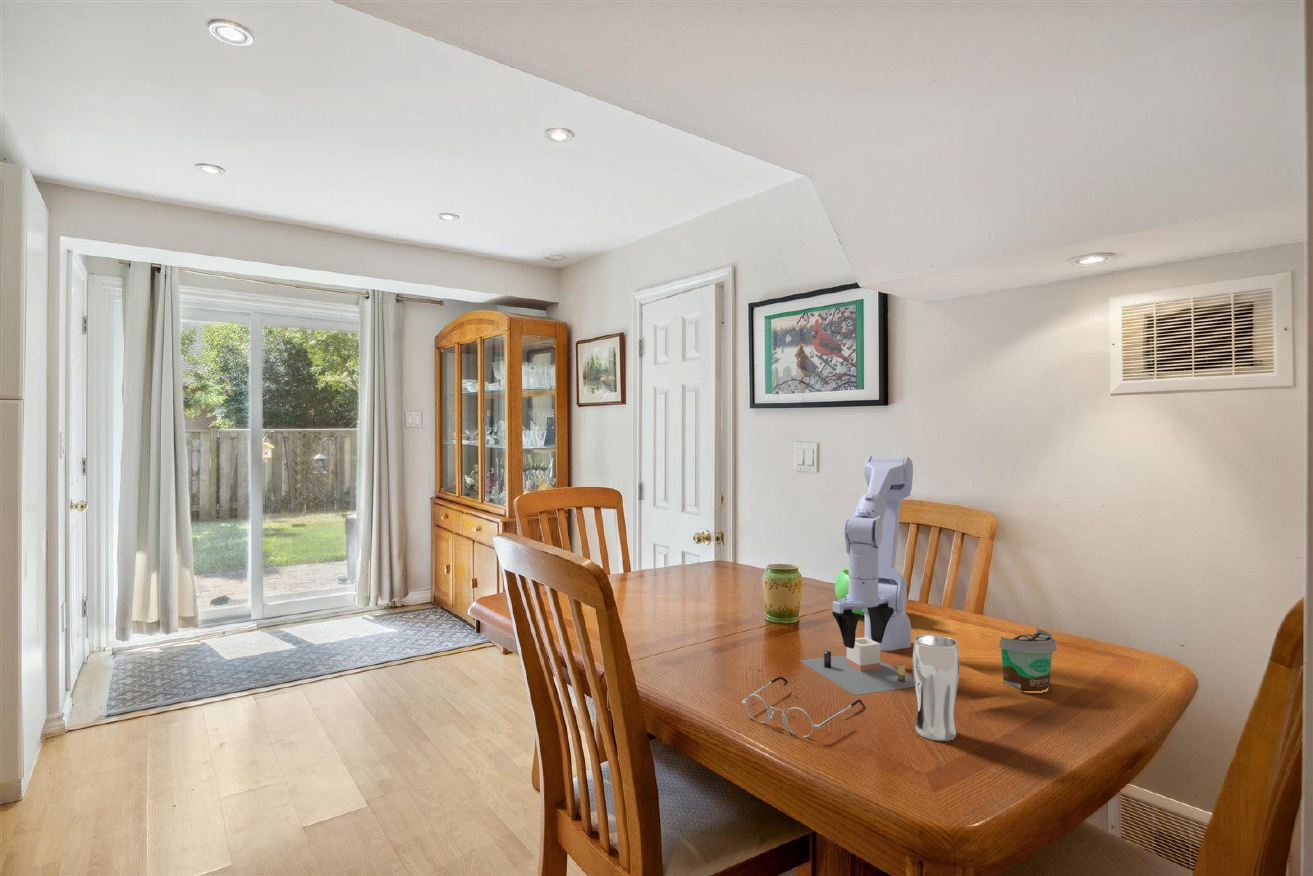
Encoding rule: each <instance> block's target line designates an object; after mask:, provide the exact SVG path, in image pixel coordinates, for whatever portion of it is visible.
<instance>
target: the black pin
mask: <svg viewBox="0 0 1313 876" xmlns="http://www.w3.org/2000/svg"><path fill="white" fill-rule="evenodd" d="M831 657H832V652H831V650H823V658H824V667H825V668H831Z"/></svg>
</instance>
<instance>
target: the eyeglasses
mask: <svg viewBox="0 0 1313 876" xmlns="http://www.w3.org/2000/svg"><path fill="white" fill-rule="evenodd" d="M779 680H782V681H783V682H784V683H788V682H789V681H788V680H787V679H786V678H784V677H783V676H778V677H777V678H776V677H775V678H774V679H772V680H771V681H769V683H768V684H767V685H766V684H765V686H763V687H761V688H759V689H758V690H756V691H754V692H753V693H751V694H750V695H747V696H746V697H745V698H744V699H743V700H741V704H742V705H744V706H745V709H746V712H747V714H748V716H749V717H750V718H751V719H752V720H753V719H754V720H753V721H755V720H756V719H755V718H754V717H753V716H752V714H751V713H750V711H749V708H748V701H749V700H750V699H751V698H752V697H754V696H755V697H757V698H759V699H760V700H761V701H762V702H763V703H764V705H765V708H766V710H767V717H766V719H765V721H760V723H761V724H763V723H764V724H763V725H766V724H768V723H769V722H770V720H771V719H773V717H774V714H775V711H779V712H782V713H781V718H782V722H783V725H784V727H785V729H786V730H787V732H788V733H790V734H792V735H796V733H795V732H794V731H793V730H792V729H791V728H790V727H789V725H788V723H789V720H788V716H787V714H788V712H789V711H790V710H794V709H795V710H799V711H802V713H804V714H805V715H806V716H807V717H808V719H809V721H810V722H811V723H810V724H811V731H810V733H809V734H808V735H803V738H808V737H809V736H811V734H812V733H813V731H814V729H820V728H822V727H823V726H824V725H826V724H828V723H829V722H831V721H832V720H834V719H836V718H837V717H839V716H840V715H841V714H843V713H844V712H845V711H846V710H848V709H850V708H853V707H854V706H856V705H857V704H858V703H860V704H862V702H863V701H862V699H857V700H856V701H854V702H853V703H851V704H849V705H848V707H846V708H844V709H842V710H841V711H838V712H837V713H835V714H834V715H833V716H831V717H829V718H828V719H826V720H825V721H823V722H821V723H820V724H814V723H813V720H812V717H811V716H810V715H809V713H807V711H805V710H804V709H803V708H800V707H795V706H794V707H790V708H788V709H787V711H786V712H785V710H783V709H779V708H776V707H772V706H769V707H768V704H767V702H766V701H765V700H764V698H762V696H760V695H758V694H759V693H760V692H761V691H763V690H765V688H766V687H768V686H769V685H773V684H774V683H775V682H776V681H779ZM772 709H773V710H772Z"/></svg>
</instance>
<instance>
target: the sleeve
mask: <svg viewBox="0 0 1313 876" xmlns="http://www.w3.org/2000/svg"><path fill="white" fill-rule="evenodd" d="M846 655H847V664H848V665H850V666H852V667H853V668H855V669H857V670H859V671H868V670H876V669H880V661H881V650H880V644H879V643H877V642H875V641H873V640H871V639H869V638H867V637H865V636H863V637H855V646H854V648H852V649H851V648H848V647H846Z"/></svg>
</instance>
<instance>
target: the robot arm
mask: <svg viewBox="0 0 1313 876" xmlns="http://www.w3.org/2000/svg"><path fill="white" fill-rule="evenodd" d="M913 465H914V464H913V461H912V459H911V457H909V456H905V457H894V456H892V457H887V456H883V457H882V456H878V457H877V456H868V457H867V458H866V459H865V461H864V468H863V469H864V478H865V481H866V484H867V487H868V488H867V493H865V494H862V495H861V496H860V498H859V500H858V504H857V505H856V508H855V511H854V514H853V516H851V517H850V519H849V518H847V520H846V522H845V524H844V539H845V540H844V541H845V547H846V549H845V550H846V554H848V567H849V595H846V598H844V599H841V600H838V599H837V600H836V601H832V616H833V618H834V619H835V621H836V623H837V626H838V628H839V630H840V634H841V638H842V643H843V645H844V647H846V648H847V647H848V648H851V649H852V648H854V646H855V638H856V631H857V627H858V623H859V621H860V618H861V617H860V615H858V614H855V613H853V612H852V610H858V609H862V611H863V612H865V616H864V637H867V638H869V639H871V640H873V641H875V642H877V643H879V644H880V652H881V651H884V652H891V651H893V652H894V651H897V650H901V649H909V648H911V647H912V626H911V621H910V620H911V619H910V618H909V616H908V615H907V613H906V612H905V611H906V607H907V600H908V593H907V582H906V581H905V579H906V578H905V577H904V576H903V575H902V574H901V573H900V572H899V571H898V570H896V557H897V548H898V537H899V528H900V527H899V526H900V516H901V507H902V503H903V500H904V499H906V498H908V497H909V496H911V492H912V489H913V476H914V467H913Z"/></svg>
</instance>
